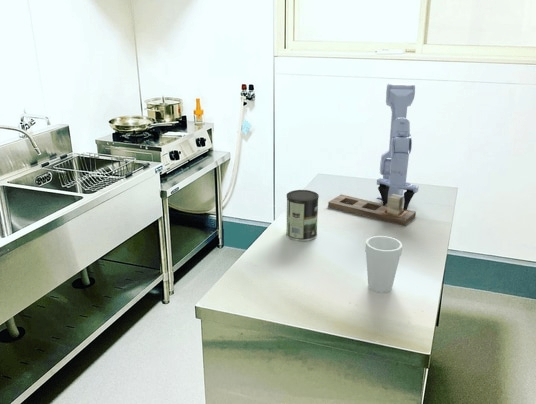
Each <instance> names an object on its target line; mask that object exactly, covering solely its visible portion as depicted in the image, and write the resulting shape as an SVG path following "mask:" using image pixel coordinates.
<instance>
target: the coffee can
mask: <svg viewBox="0 0 536 404" xmlns="http://www.w3.org/2000/svg"><path fill="white" fill-rule="evenodd" d="M319 197H320V195H319V194H318V193H317V192H316V191H312V190H309V189H297V190H292V191H288V192H287V193H286V237H287V238H288V239H290V240H292V241H295V242H296V241H297V242H309V241H313V240H315V239H316V238H317V237H318V214H319V211H318V210H319V209H318V208H319Z"/></svg>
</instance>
